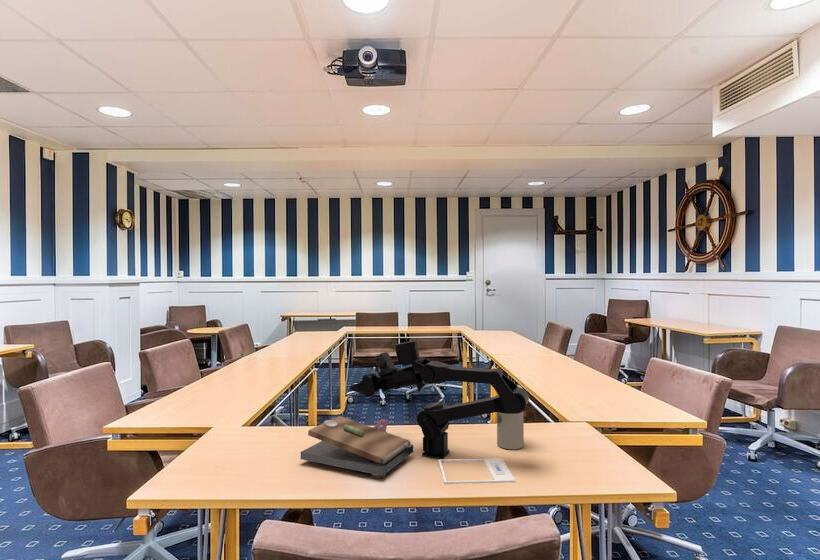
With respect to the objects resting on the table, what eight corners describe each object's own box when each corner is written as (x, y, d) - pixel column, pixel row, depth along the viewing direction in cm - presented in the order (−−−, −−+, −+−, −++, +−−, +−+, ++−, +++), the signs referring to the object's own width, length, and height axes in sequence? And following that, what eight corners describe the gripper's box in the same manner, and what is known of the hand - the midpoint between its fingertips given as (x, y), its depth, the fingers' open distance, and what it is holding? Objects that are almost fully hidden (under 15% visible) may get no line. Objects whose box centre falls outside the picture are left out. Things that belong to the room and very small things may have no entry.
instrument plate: (410, 446, 131) (412, 435, 131) (384, 465, 117) (386, 452, 117) (338, 420, 141) (340, 410, 141) (307, 435, 128) (309, 423, 128)
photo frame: (515, 479, 115) (444, 481, 114) (515, 484, 115) (444, 485, 114) (501, 457, 130) (438, 459, 129) (501, 461, 130) (438, 462, 129)
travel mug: (521, 441, 145) (521, 384, 145) (525, 450, 137) (525, 390, 137) (496, 440, 145) (495, 383, 145) (498, 449, 137) (498, 389, 138)
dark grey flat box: (413, 457, 132) (413, 444, 132) (382, 481, 116) (382, 467, 116) (338, 443, 143) (337, 432, 143) (300, 464, 127) (300, 451, 127)
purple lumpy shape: (379, 448, 143) (389, 428, 143) (366, 442, 144) (376, 422, 144) (382, 438, 153) (391, 419, 153) (369, 431, 153) (379, 413, 153)
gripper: (409, 349, 148) (367, 358, 154) (384, 353, 131) (337, 363, 137) (416, 384, 146) (373, 392, 152) (391, 392, 129) (344, 401, 135)
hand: (357, 386), depth 144 cm, fingers open, 9 cm apart
